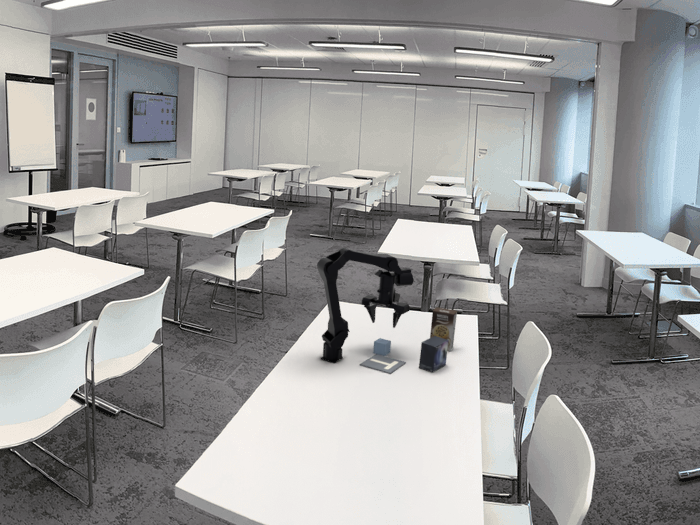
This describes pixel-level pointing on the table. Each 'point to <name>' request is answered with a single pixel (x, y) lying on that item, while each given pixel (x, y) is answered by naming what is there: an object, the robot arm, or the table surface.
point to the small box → (433, 353)
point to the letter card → (383, 363)
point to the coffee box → (444, 325)
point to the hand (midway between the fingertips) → (383, 325)
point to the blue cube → (382, 346)
